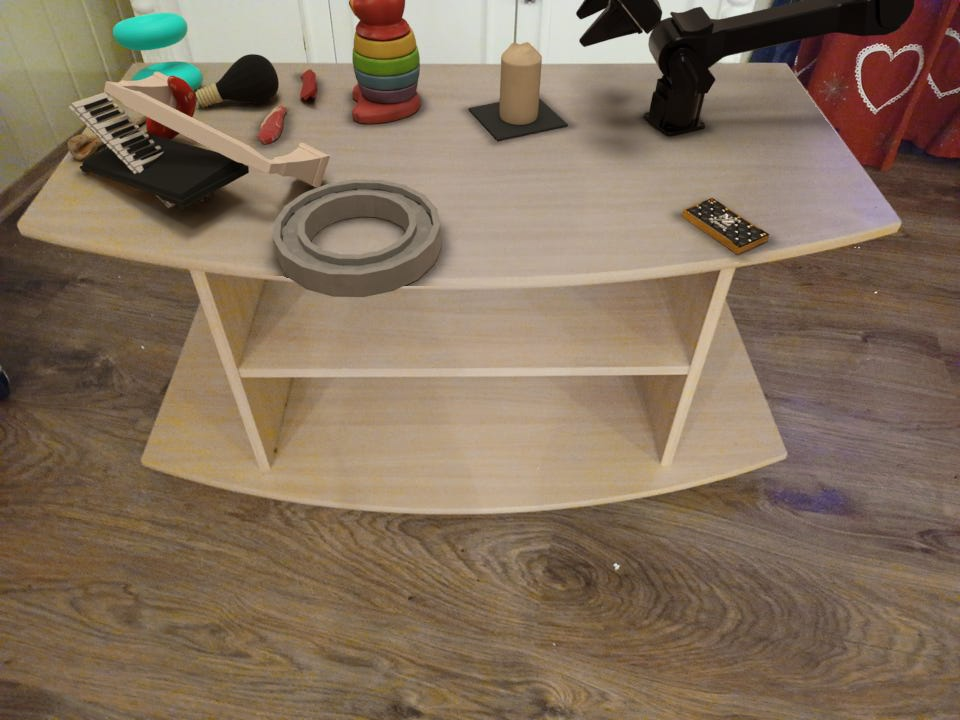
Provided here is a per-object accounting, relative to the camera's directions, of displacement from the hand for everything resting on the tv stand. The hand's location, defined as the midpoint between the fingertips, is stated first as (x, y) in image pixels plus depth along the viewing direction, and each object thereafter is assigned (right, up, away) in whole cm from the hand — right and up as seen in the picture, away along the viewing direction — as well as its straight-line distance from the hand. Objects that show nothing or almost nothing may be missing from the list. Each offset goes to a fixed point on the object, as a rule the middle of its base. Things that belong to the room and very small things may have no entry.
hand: (579, 29), depth 96 cm
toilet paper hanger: (-46, -17, -7) cm, 50 cm away
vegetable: (-58, -13, +3) cm, 59 cm away
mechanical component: (-27, -30, -13) cm, 42 cm away
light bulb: (-48, -5, +12) cm, 50 cm away
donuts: (-55, +3, +12) cm, 56 cm away
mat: (-8, -9, +9) cm, 15 cm away
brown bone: (-63, -11, +4) cm, 64 cm away
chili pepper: (-39, -2, +13) cm, 41 cm away
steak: (-40, -10, +6) cm, 42 cm away
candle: (-8, -9, +9) cm, 15 cm away
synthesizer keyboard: (-51, -17, -11) cm, 55 cm away
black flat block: (+13, -28, -11) cm, 33 cm away
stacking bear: (-27, -6, +11) cm, 30 cm away
